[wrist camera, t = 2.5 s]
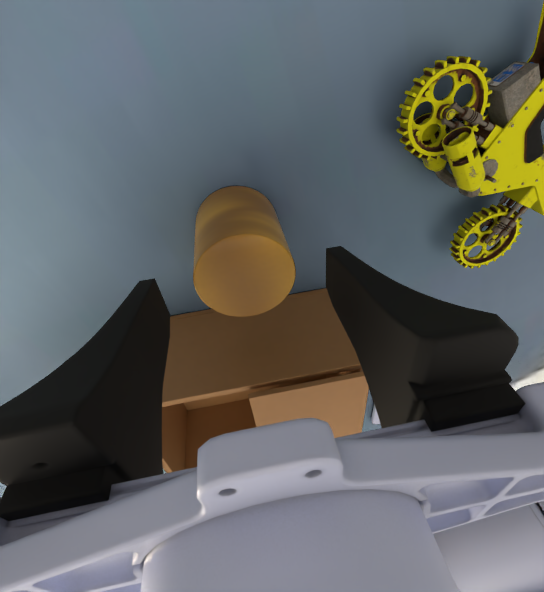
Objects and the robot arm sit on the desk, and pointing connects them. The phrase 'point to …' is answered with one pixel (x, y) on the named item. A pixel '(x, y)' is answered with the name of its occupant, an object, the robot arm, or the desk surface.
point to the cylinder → (241, 253)
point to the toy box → (258, 374)
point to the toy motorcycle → (484, 144)
